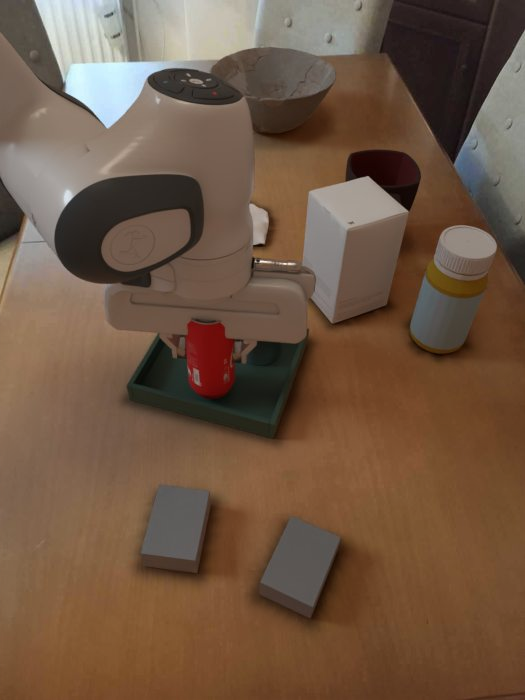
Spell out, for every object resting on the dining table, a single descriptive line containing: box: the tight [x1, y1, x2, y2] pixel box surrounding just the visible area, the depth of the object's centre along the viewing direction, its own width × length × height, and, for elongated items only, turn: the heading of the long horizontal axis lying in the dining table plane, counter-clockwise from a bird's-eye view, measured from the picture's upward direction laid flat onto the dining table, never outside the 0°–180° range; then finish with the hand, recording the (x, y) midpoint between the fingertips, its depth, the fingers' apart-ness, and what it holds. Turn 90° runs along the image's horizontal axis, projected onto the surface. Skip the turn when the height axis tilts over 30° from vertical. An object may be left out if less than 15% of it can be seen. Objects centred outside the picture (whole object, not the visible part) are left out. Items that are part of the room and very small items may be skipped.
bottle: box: [409, 224, 498, 355], centre depth 71 cm, size 7×7×15 cm
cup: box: [344, 148, 422, 213], centre depth 85 cm, size 10×14×12 cm
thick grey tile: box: [140, 484, 212, 574], centre depth 56 cm, size 5×7×3 cm
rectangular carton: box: [301, 176, 410, 325], centre depth 76 cm, size 9×9×15 cm
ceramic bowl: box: [209, 46, 337, 134], centre depth 111 cm, size 22×23×10 cm
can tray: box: [126, 328, 310, 439], centre depth 71 cm, size 17×15×3 cm
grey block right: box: [258, 515, 342, 619], centre depth 54 cm, size 5×7×3 cm
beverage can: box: [185, 318, 235, 399], centre depth 64 cm, size 5×5×12 cm
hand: (210, 356), depth 65 cm, fingers closed on beverage can, 5 cm apart
